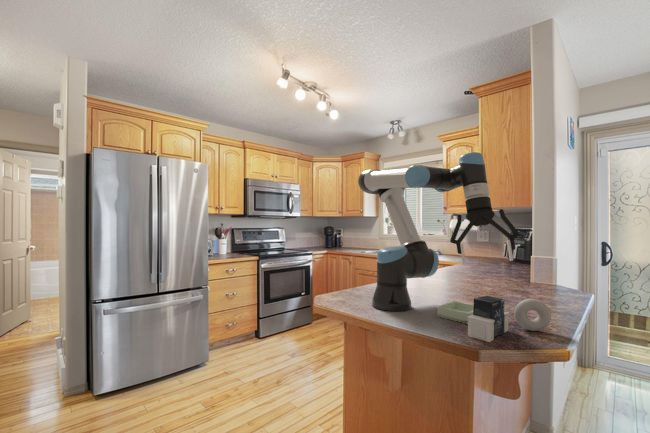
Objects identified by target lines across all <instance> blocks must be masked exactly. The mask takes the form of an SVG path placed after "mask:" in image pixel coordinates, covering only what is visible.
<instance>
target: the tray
mask: <svg viewBox="0 0 650 433" xmlns="http://www.w3.org/2000/svg"><path fill="white" fill-rule="evenodd" d="M473 305H474V304H471V303H468V302H467V303H466V302H463V301H462V302H461V301H456V300H453V301H450V302H447V303H444V304H441V305H438V306H437V307H436V317H437V318H442V319H446V320H449V321H453V320H454V321H453V322H457V321H458V322H457V323H461V322H462V323H461V324H464V325H468V319H467V317H468V316H470V315H473Z"/></svg>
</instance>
